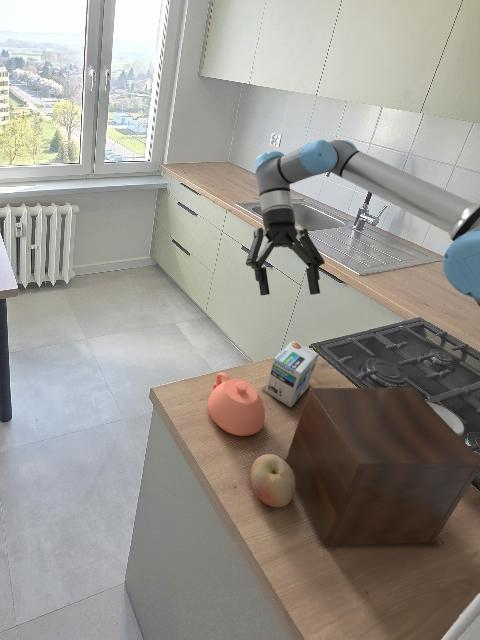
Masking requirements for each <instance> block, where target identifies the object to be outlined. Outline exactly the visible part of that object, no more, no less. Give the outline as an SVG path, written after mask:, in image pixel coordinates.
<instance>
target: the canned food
mask: <svg viewBox="0 0 480 640" xmlns="http://www.w3.org/2000/svg"><path fill="white" fill-rule="evenodd" d="M426 402H427V403H428V404H429V405H430V406H431V407H432V408H433V409H434V410H435V412H436V413H437V414H438V415H439V416H440V417H441V418H442V419H443V420H444V421H445V422H446V423H447V424H448V425H449V426H450V427H451V428H452V429H453V430H454V431H455V432H456V434H457V435H458V436H459V437H460V438H461V439H462V436H463V434H464V432H465V426H464V424H463V422H462V421H461V419H460V418H459V417H458V416H457V415H456V414H454V412H452V411H450V410H449V409H447V408H445V407H444V406H442V405H439V404H436V403H433V402H428V401H426Z"/></svg>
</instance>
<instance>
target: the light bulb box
mask: <svg viewBox="0 0 480 640" xmlns="http://www.w3.org/2000/svg"><path fill="white" fill-rule="evenodd" d="M319 356H320V354H319V353H318V352H316V351H314V350H312V349H310V348H309V347H306V346H304V344H301V343H299V342H297V341H296V340H292V341H291V342H290V343H289V344H287V346H286V347H285V348H283V349H282V350H281V351H280V352H279V353H278V354H277V355H276V356H275V357H274V358H273V362H272V367H271V370H270V374H269V376H268V380H267V384H266V387H265V392H266V393H267V394H268V395H270V396H272V397H273V398H275V399H276V400H278V401H279V402H281V403H283V404H284V405H286V406H287V407H289V408H292V407H293V406H294V404H295V403H296V402H297V401H298V400H299V399H300V398H301V396H302V395H303V394H304V393H305V392H306V390H307V389H308V388H309V386H310V382H311V379H312V377H313V373H314V371H315V367H316V365H317V362H318V360H319V359H318V358H319Z"/></svg>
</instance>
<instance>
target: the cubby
mask: <svg viewBox="0 0 480 640" xmlns="http://www.w3.org/2000/svg"><path fill="white" fill-rule="evenodd" d="M427 402H428V401H426V400H425V399H424V398H423V397H422V396H421V394H420V393H418V392H417V390H416V389H415V388H414V387H309V390H308V393H307V395H306V399H305V402H304V405H303V408H302V410H301V413H300V417H299V419H298V423H297V426H296V429H295V432H294V435H293V437H292V440H291V443H290V447H289V450H288V452H287V455H286V458H285V460H284V461H285V462H286V463H287V464H288V465H289V466H290V468H291V469H292V471H293V473H294V475H295V480H296V488H295V489H296V490H297V493H298V494H299V497H300V498H301V500H302V501H301V502H302V503H303V505H304V507H305V509H306V511H307V513H308V515H309V517H310V519H311V522H312V523H313V525H314V528H315V530H316V531H317V533H318V536H319V538H320V539H321V542H322V544H323V545H325V546H328V545H332V546H333V545H369V544H370V545H375V544H376V545H377V544H417V543H418V544H420V543H421V544H422V543H423V544H424V543H425V544H426V543H427V544H428V543H435V542H436V540H437V539H438V537H439V535H440V534H441V532H442V530H443V529H444V527H445V526H446V524H447V523H448V521H449V519H450V518H451V516H452V514H453V513H454V511H455V510H456V508H457V506H458V504H459V503H460V502H461V500H462V498H463V497H464V495H465V493H466V492H467V490H468V489H469V487H470V486H471V484H472V482H473V481H474V480H475V477H476V476H477V475H478V474H479V471H480V456H478V454H477V453H476V452H475V451H474V450H473V449H472V448H471V447H470V446H469V445H468V444H467V443H466V441H465V440H463V438H462V437H461V438H460V437H459V436H458V435H457V434H456V432H455V431H454V430H453V429H452V428H451V427H450V426H449V425H448V424H447V423H446V422H445V421H444V420H443V419H442V418H441V417H440V416H439V415H438V414H437V413H436V412H435V410H434V409H433V408H432V407H431V406H430V405H429V404H428V403H427Z"/></svg>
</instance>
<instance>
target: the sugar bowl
mask: <svg viewBox="0 0 480 640" xmlns="http://www.w3.org/2000/svg"><path fill="white" fill-rule="evenodd" d="M222 378H223V379H222ZM222 380H224V381H222ZM212 389H213V390H212V392H211V393H210V395H209V397H208V401H207V410H208V413H209V415H210V417H211V419H212V420H213V422H214V423H215V424H216V425H217V426H218V427H220V428H221V429H222V430H223V431H224V432H226V433H228V434H231V435H233V436H234V435H235V436H238V437H239V436H240V437H247V436H251V435H254V434H257V433H258V432H259V431H260V430H261V429H262V428H263V426H264V424H265V420H266V411H265V406H264V403H263V402H264V401H263V399H262V398H261V396H260V394H259V392H258V390H257V389H256V388H255V387H254V386H253V385H252V384H251V383H249V382H248V381H247V380H243V379H240V378H231V377H230V376H229V374H227V373H226V372H224V371H222V372H218V373H217V374H216V377H215V382H214V384H212Z"/></svg>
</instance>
